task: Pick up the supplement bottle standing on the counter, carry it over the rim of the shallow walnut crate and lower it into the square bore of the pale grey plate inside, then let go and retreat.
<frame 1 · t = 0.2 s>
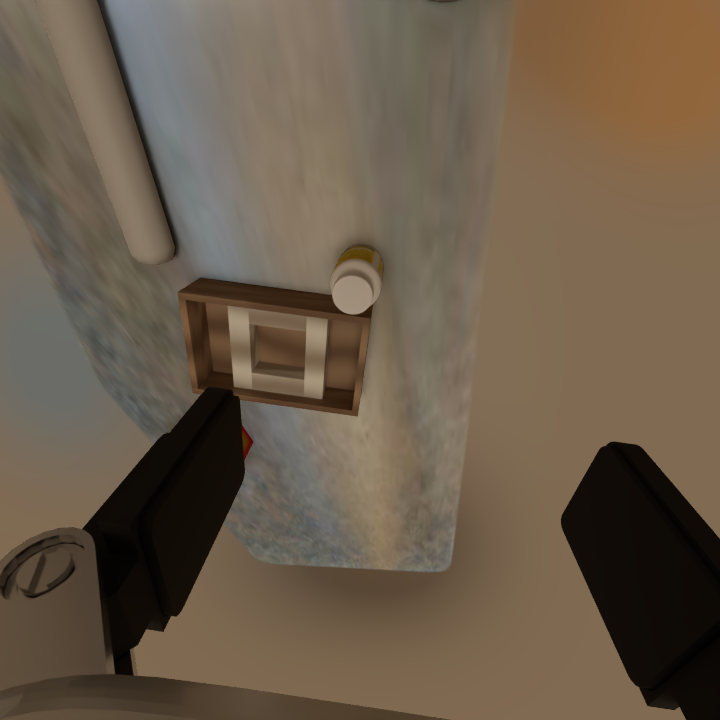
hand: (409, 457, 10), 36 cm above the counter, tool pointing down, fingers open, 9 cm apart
tube: (132, 143, 39), on the counter
supplement bottle: (361, 266, 44), on the counter
crate: (286, 338, 49), on the counter
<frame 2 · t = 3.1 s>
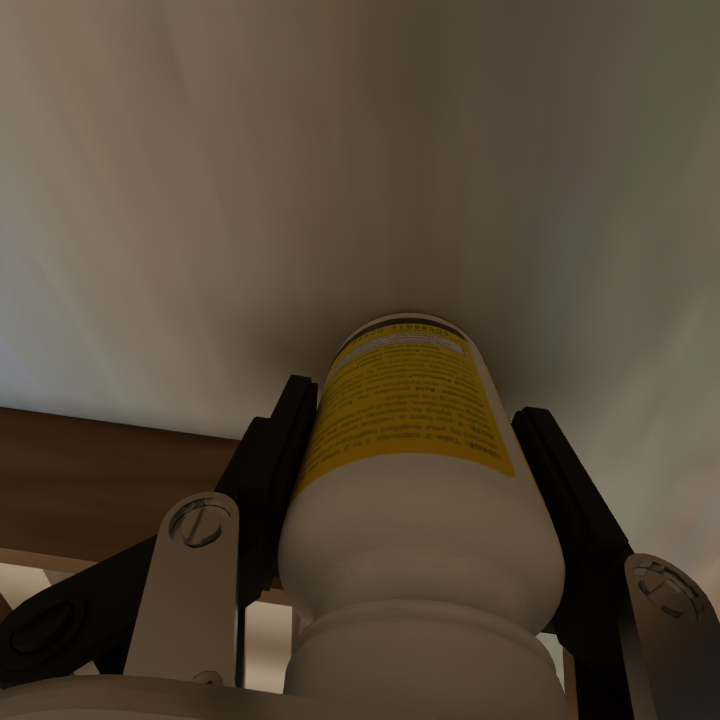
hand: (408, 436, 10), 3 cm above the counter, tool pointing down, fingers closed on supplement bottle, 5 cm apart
supplement bottle: (405, 377, 13), on the counter, touching gripper
crate: (194, 537, 19), on the counter
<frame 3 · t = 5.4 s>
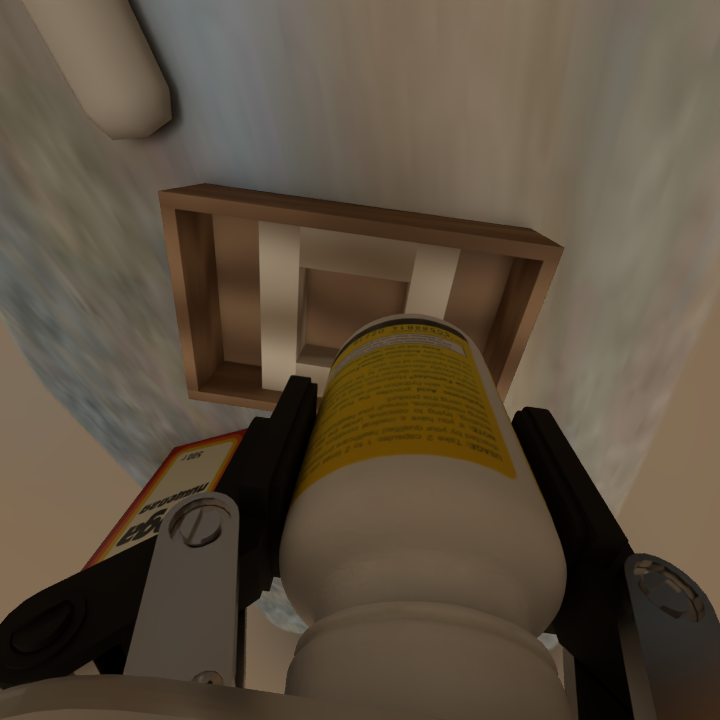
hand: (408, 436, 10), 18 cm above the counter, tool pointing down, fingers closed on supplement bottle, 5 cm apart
supplement bottle: (406, 377, 13), point 15 cm above the counter, touching gripper
baking soda box: (230, 459, 38), on the counter
crate: (355, 304, 28), on the counter
when the fingers open (5 cm above the counter, at t = 8.0 s): supplement bottle stays where it is, resting on crate.
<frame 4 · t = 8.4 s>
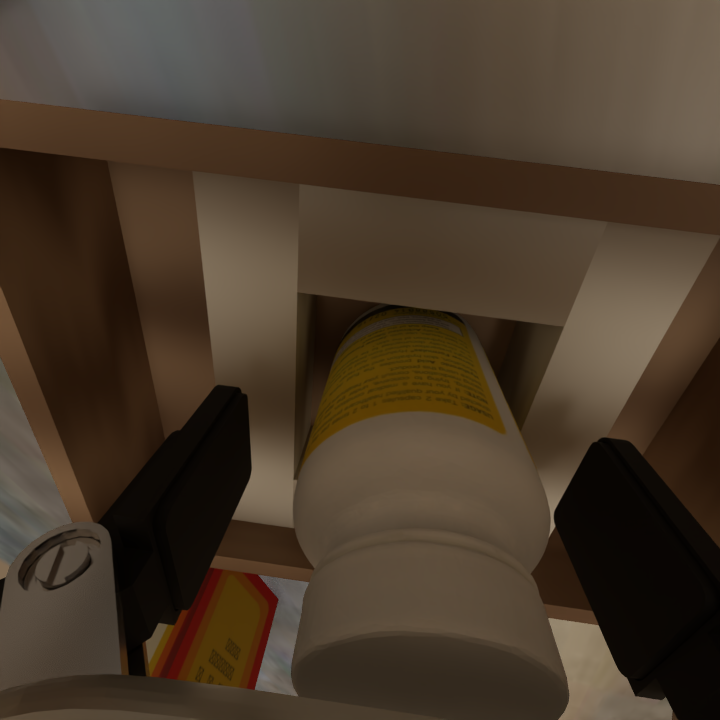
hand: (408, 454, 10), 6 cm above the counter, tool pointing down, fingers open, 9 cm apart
supplement bottle: (407, 360, 14), point 1 cm above the counter, touching crate
baking soda box: (195, 578, 24), on the counter
crate: (404, 354, 15), on the counter
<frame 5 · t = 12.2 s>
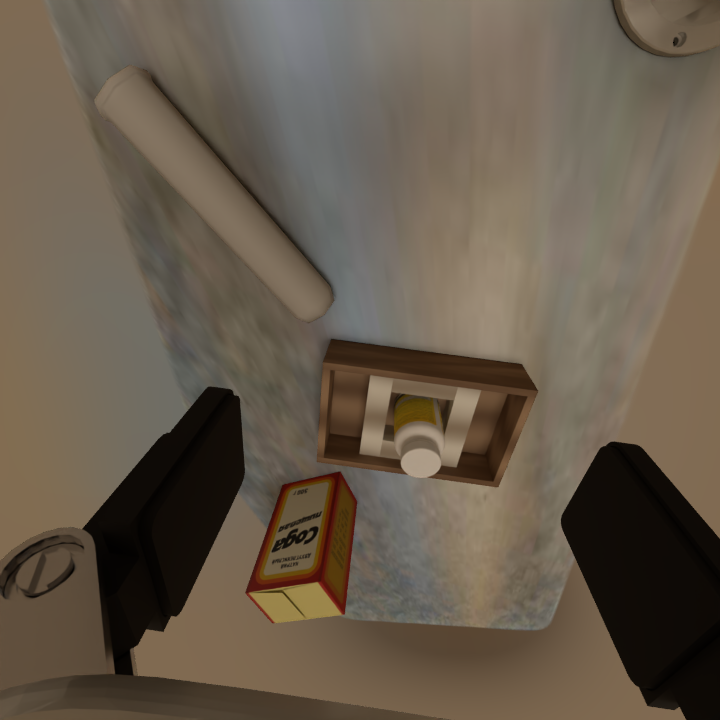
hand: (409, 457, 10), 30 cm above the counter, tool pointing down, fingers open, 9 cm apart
tube: (246, 213, 37), on the counter
supplement bottle: (416, 403, 44), point 1 cm above the counter, touching crate
baking soda box: (320, 492, 55), on the counter
crate: (415, 401, 45), on the counter
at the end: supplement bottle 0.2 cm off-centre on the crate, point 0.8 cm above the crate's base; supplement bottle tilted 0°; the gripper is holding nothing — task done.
